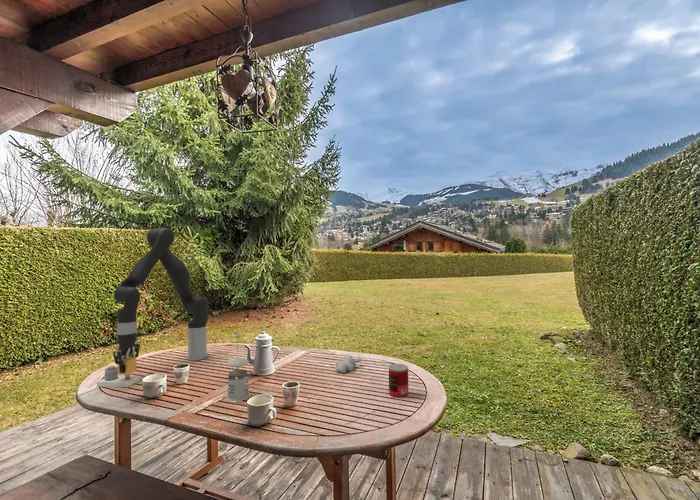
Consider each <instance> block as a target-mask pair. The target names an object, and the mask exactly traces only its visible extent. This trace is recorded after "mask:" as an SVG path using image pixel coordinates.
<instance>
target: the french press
mask: <svg viewBox="0 0 700 500" xmlns="http://www.w3.org/2000/svg"><path fill="white" fill-rule="evenodd" d="M234 338H236V341H237V346H236V347H237V351H236V352H239V338H241V334H239V333H236V334H235V336H234ZM248 364H249V360H248V359H246V358H242V357H237V358H233V359H230V360H228V362H227V365H228V366H229V367H232V371H229V372H228V376H227V395H226V396H225V398H226V400H227V401H226V400H225V401H226V402H228V401H242V402H244V401H243V400H245V401H247V400H249V399H251V398H252V395H251V393H249V374H248V371H247V370H246V369H239V367H243V366H246V365H248ZM234 368H236V369H234ZM236 378H237V379H236ZM248 398H249V399H248ZM246 399H247V400H246Z"/></svg>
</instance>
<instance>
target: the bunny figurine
mask: <svg viewBox="0 0 700 500" xmlns="http://www.w3.org/2000/svg"><path fill="white" fill-rule="evenodd" d="M361 362H362V358H361V357H358V358H356V359H354V358H353V356H347V357H345V356H344V358H343V359H342V360H340V361H337V362H336V363H335V372H338V373H343V374H346V373H347V372H348V371H349V372H350V371H354V368H355V367H356V363H357V364H358V363H361Z"/></svg>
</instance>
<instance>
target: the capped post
mask: <svg viewBox="0 0 700 500" xmlns="http://www.w3.org/2000/svg"><path fill="white" fill-rule="evenodd" d="M118 376H119V374H118V366H116V365H110V366H108V367H107V368H104V378H105V381H111V380H115V379H117V378H118Z"/></svg>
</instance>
